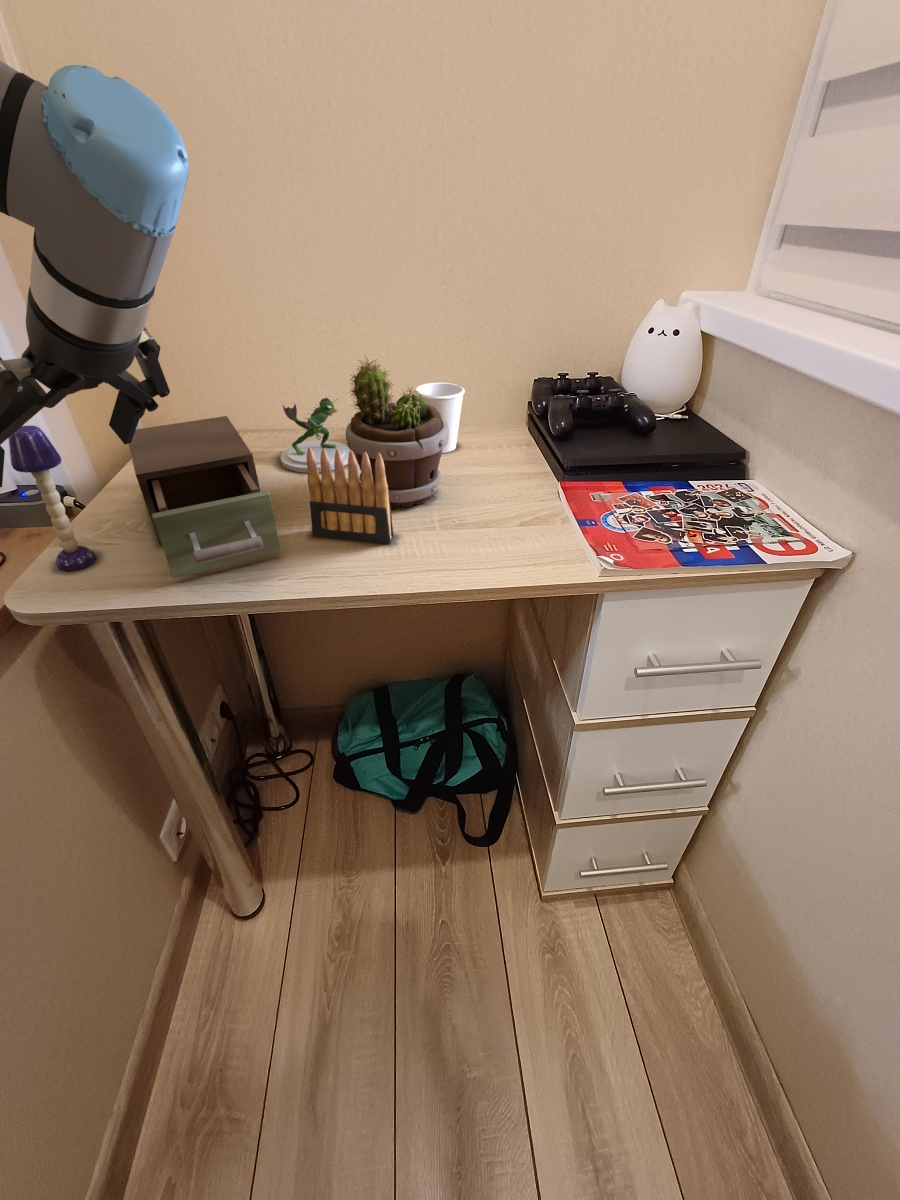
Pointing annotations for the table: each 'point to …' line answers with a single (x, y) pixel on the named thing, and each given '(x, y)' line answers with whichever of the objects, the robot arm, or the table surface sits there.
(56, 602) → the table surface
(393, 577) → the table surface
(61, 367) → the robot arm
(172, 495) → the drawer
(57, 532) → the toy lamp
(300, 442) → the monster figurine
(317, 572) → the table surface
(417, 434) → the flowerpot
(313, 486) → the ammunition clip
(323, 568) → the table surface
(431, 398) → the dixie cup
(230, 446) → the cabinet
